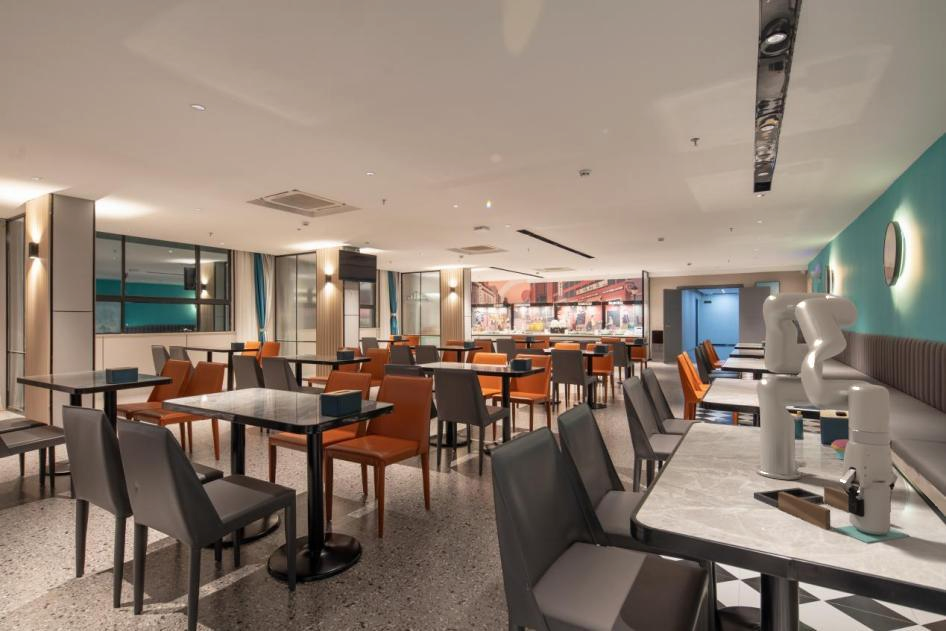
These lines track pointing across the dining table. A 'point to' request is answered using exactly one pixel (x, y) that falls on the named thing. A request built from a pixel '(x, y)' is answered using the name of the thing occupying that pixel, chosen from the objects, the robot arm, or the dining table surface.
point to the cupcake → (839, 447)
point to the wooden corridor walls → (813, 506)
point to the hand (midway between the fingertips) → (869, 512)
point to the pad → (870, 537)
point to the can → (874, 510)
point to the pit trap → (772, 496)
